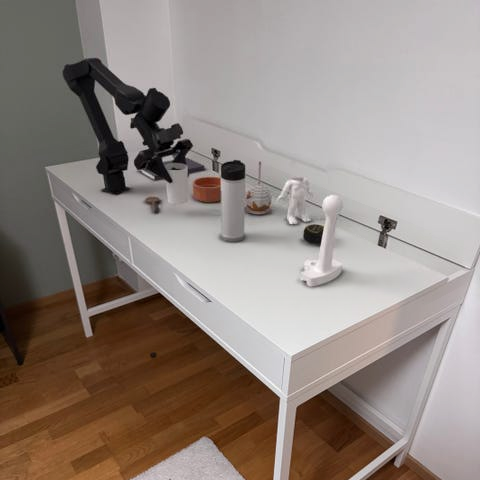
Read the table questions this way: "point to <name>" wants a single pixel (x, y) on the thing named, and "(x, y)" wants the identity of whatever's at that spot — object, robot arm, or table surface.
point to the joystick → (325, 248)
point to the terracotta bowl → (207, 189)
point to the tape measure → (313, 233)
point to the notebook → (190, 163)
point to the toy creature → (296, 198)
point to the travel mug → (232, 200)
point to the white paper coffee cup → (177, 183)
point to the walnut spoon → (153, 202)
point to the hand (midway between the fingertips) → (179, 179)
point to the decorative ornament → (258, 198)
